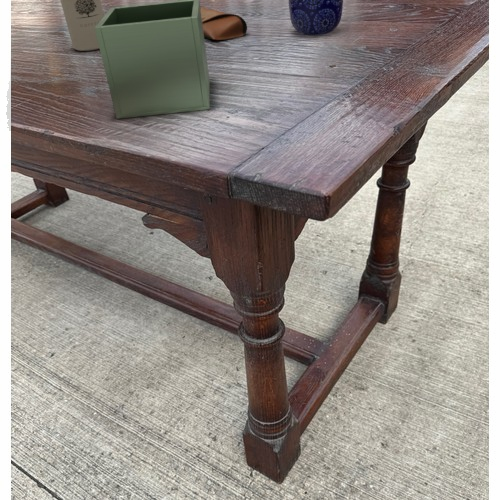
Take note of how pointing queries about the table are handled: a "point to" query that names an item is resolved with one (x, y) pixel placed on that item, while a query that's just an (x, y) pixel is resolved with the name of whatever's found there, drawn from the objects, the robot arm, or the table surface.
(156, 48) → the bin
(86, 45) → the travel mug
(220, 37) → the sunglasses case
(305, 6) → the planter
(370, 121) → the table surface
